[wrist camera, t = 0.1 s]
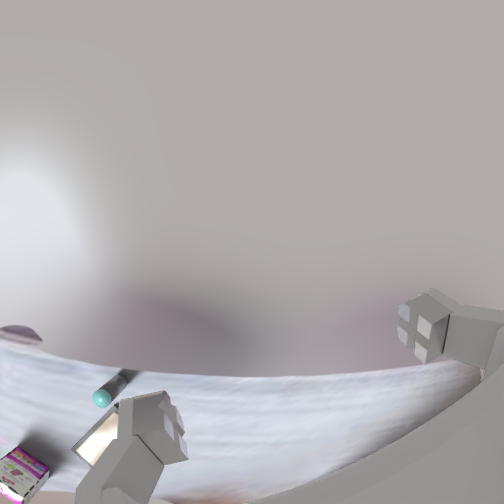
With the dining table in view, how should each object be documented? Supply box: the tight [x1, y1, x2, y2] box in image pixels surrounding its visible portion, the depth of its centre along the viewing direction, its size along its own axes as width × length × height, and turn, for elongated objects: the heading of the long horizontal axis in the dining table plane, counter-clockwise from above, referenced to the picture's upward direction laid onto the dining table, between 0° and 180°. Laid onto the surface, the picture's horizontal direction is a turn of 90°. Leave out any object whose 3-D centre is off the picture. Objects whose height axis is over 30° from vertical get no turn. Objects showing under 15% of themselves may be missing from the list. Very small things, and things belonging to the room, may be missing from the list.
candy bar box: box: [0, 447, 50, 504], centre depth 43 cm, size 11×5×16 cm, turn 68°
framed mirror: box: [71, 404, 119, 468], centre depth 55 cm, size 15×19×1 cm
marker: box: [93, 375, 127, 408], centre depth 52 cm, size 3×3×13 cm
